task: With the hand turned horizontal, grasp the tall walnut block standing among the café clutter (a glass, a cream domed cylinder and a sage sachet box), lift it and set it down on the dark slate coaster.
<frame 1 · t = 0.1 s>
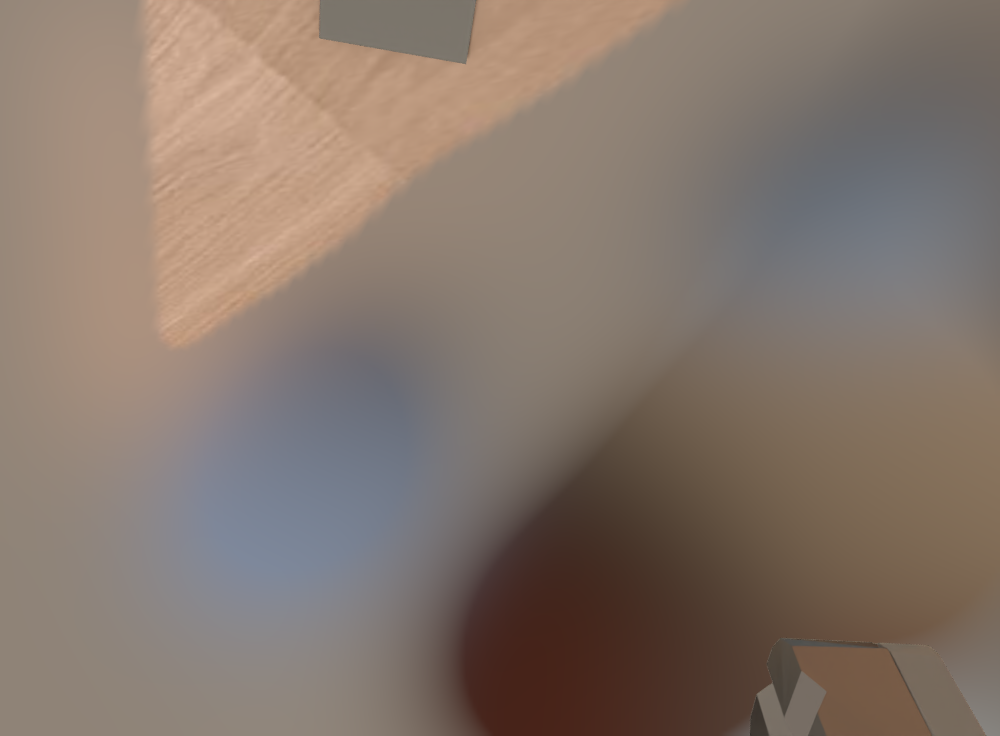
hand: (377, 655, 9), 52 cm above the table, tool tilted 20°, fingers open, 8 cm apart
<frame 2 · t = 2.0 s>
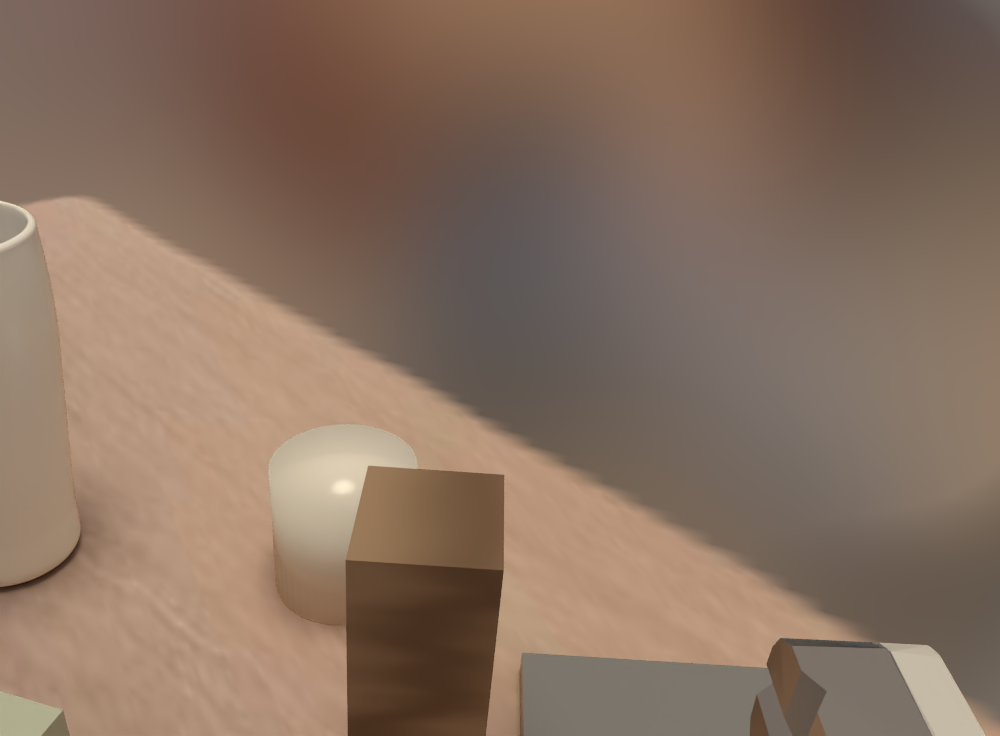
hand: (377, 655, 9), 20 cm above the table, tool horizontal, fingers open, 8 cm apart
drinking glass: (17, 554, 37), on the table
cream domed cylinder: (345, 574, 38), on the table
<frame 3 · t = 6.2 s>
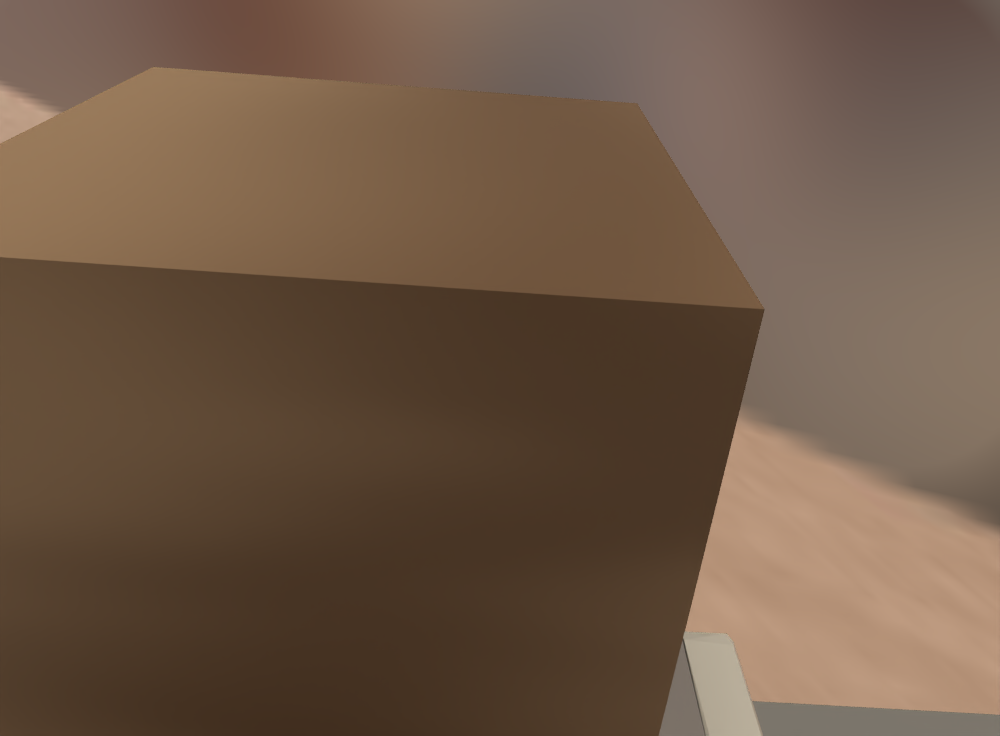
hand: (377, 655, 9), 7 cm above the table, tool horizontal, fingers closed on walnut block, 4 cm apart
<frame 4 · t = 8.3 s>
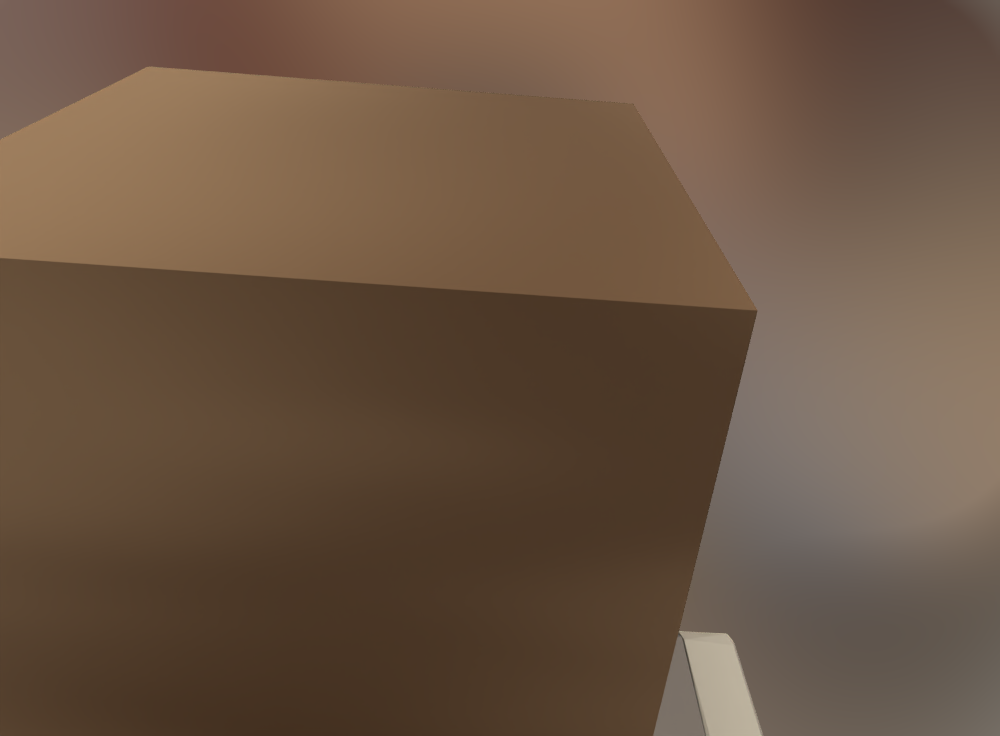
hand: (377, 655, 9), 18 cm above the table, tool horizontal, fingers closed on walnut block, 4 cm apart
when the fingers open (9 cm above the table, at t = 10.4 s): walnut block drops 1 cm, resting on slate coaster.
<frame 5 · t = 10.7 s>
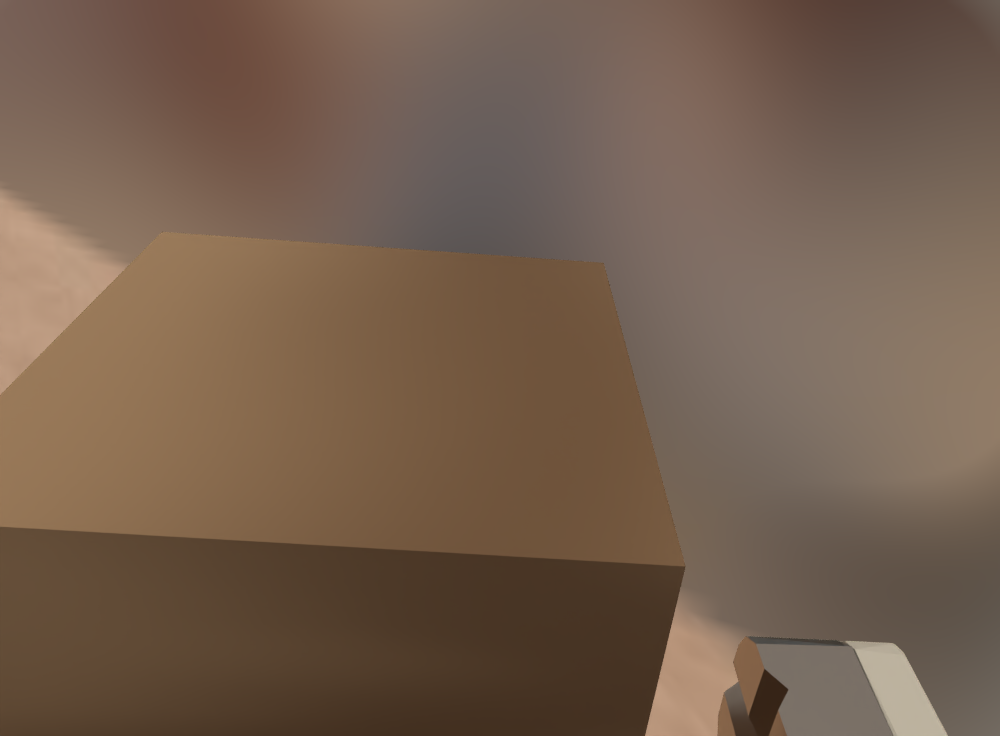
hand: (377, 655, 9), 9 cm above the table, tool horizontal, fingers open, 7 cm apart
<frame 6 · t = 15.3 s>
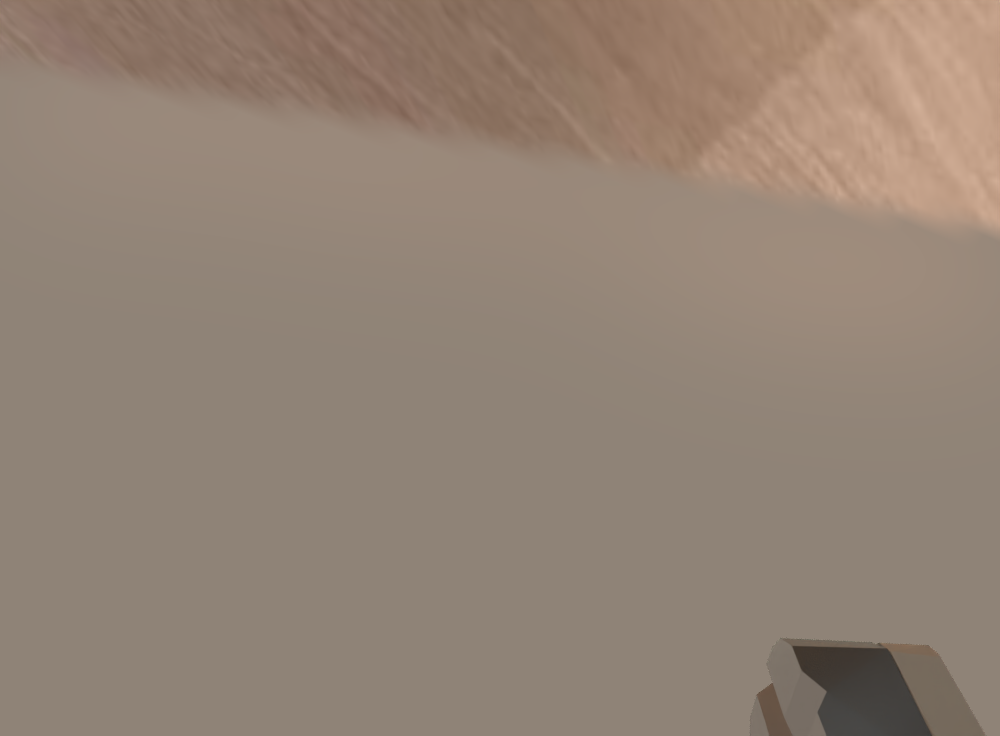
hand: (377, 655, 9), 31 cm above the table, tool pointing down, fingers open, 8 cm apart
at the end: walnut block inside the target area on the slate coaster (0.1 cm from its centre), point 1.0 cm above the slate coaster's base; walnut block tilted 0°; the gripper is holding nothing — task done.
